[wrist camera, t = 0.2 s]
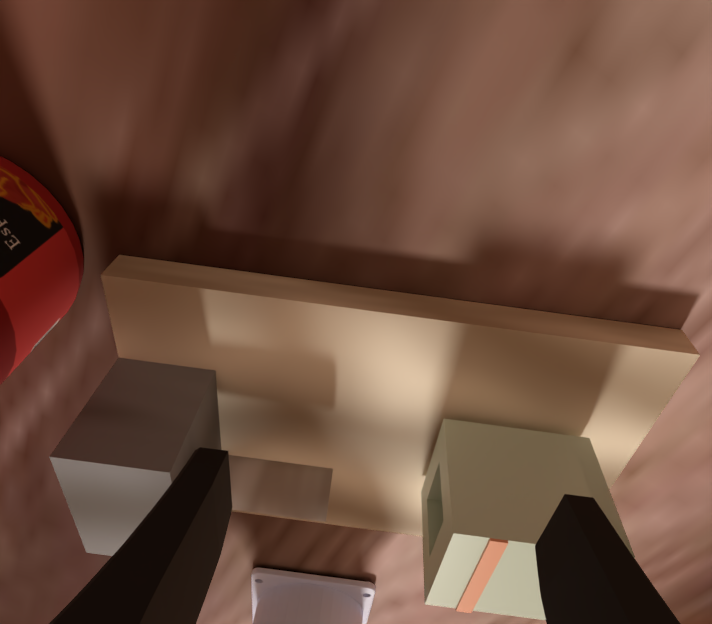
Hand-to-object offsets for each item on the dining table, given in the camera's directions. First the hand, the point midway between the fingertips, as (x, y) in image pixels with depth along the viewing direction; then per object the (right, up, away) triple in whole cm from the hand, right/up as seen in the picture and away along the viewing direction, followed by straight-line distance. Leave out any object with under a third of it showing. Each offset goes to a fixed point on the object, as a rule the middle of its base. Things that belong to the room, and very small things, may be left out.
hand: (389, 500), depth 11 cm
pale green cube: (+6, -3, +11) cm, 13 cm away
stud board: (0, -1, +13) cm, 13 cm away
